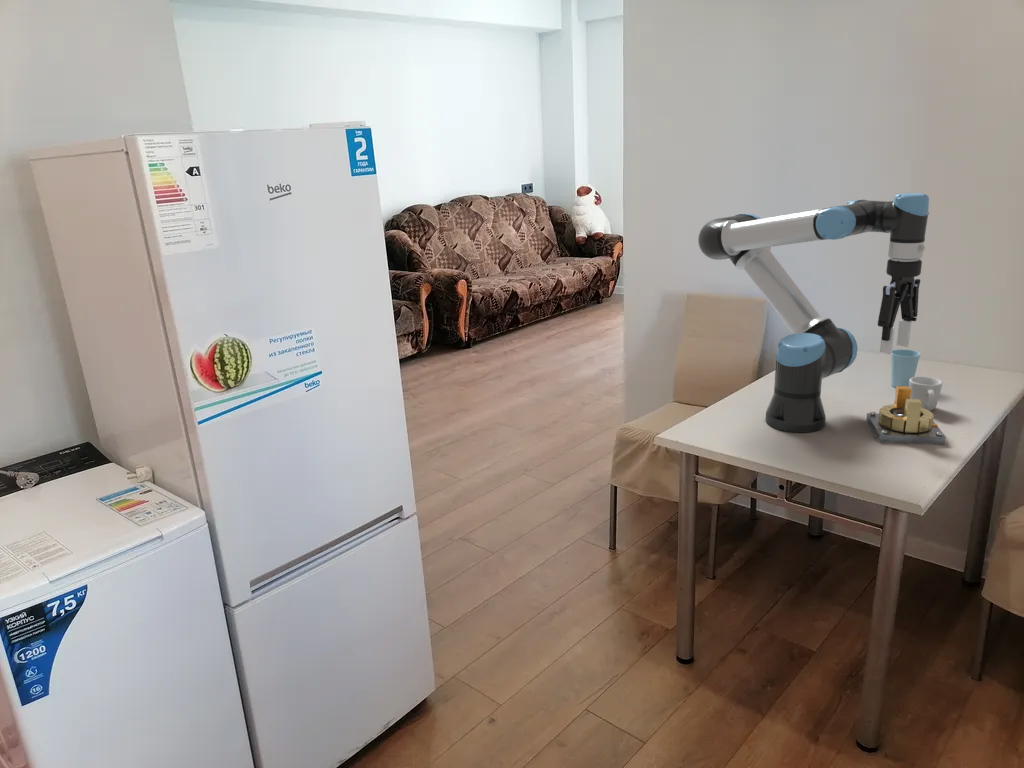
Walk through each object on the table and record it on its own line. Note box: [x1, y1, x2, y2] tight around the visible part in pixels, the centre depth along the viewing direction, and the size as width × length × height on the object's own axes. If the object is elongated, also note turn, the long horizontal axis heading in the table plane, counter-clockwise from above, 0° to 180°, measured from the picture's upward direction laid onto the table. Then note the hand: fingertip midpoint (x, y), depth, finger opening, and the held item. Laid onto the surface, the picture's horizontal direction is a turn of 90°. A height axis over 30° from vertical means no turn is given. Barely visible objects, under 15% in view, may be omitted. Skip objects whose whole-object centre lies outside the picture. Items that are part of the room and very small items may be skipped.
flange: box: [865, 410, 947, 446], centre depth 194 cm, size 15×15×5 cm
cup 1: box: [890, 348, 921, 389], centre depth 225 cm, size 8×8×10 cm
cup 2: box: [909, 375, 943, 411], centre depth 207 cm, size 11×8×8 cm
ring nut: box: [878, 386, 935, 433], centre depth 193 cm, size 12×12×8 cm
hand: (894, 349), depth 192 cm, fingers open, 8 cm apart
